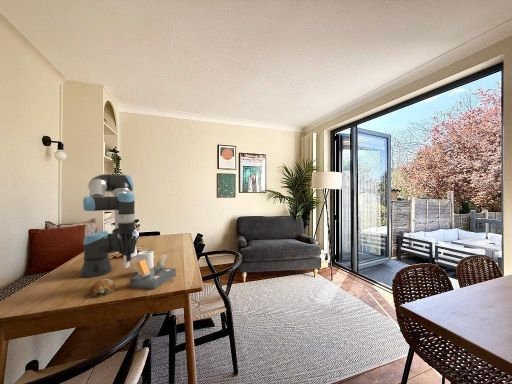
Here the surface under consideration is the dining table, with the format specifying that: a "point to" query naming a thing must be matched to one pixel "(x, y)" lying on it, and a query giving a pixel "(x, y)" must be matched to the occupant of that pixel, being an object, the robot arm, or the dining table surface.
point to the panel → (154, 276)
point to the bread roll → (102, 288)
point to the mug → (147, 256)
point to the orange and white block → (143, 268)
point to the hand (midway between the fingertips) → (126, 267)
